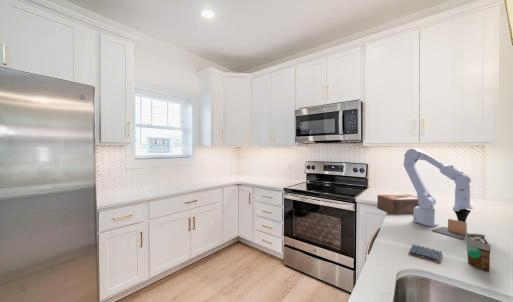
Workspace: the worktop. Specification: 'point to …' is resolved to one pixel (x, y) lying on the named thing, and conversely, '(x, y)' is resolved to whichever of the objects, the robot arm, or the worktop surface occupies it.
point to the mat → (449, 233)
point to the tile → (457, 226)
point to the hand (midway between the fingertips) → (461, 223)
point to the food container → (478, 251)
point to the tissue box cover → (397, 203)
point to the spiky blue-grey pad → (426, 253)
